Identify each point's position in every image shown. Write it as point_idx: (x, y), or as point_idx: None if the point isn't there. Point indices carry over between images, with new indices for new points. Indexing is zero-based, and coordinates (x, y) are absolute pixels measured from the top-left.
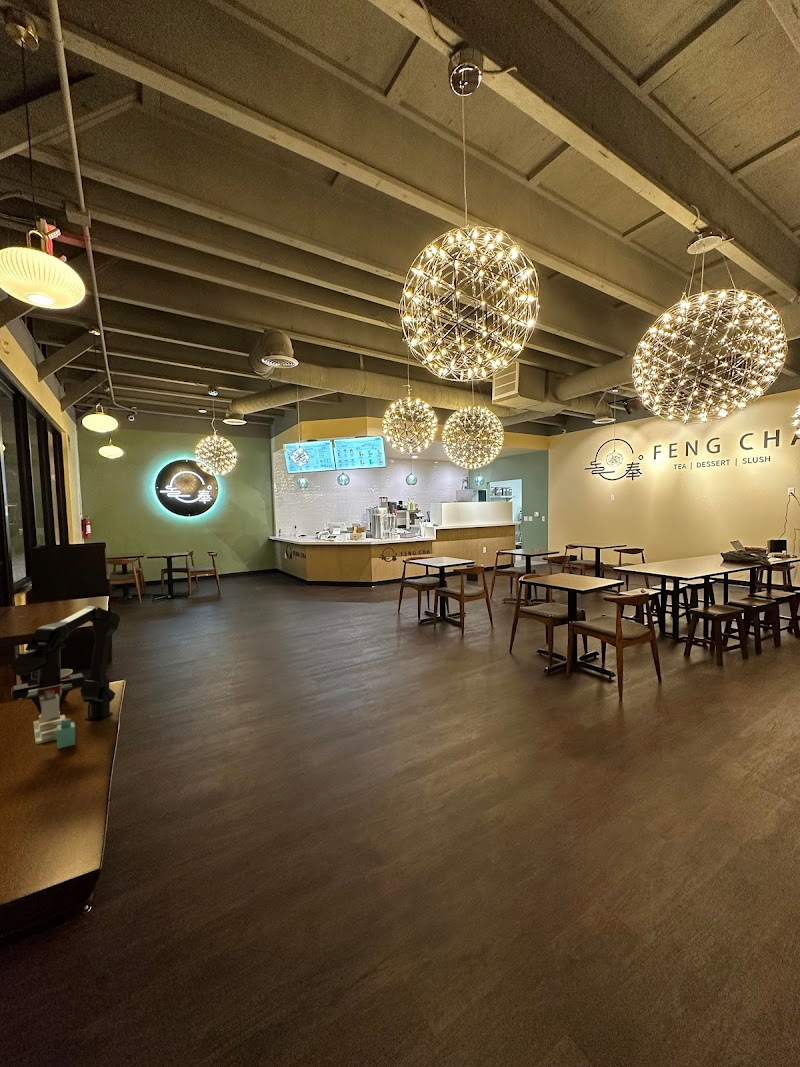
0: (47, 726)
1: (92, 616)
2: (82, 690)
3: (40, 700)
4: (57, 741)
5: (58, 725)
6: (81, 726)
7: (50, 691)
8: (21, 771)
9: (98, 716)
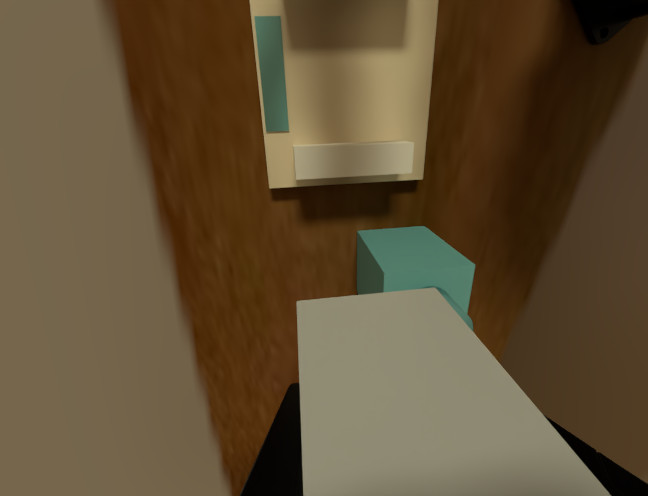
0: None
1: None
2: None
3: (302, 468)
4: (363, 284)
5: (393, 273)
6: (493, 64)
7: None
8: (243, 401)
9: (619, 3)
